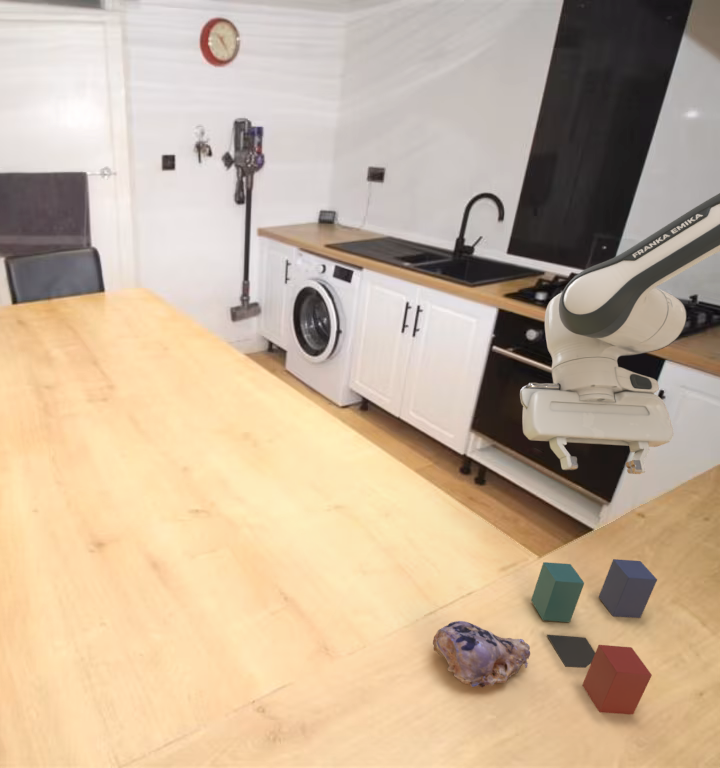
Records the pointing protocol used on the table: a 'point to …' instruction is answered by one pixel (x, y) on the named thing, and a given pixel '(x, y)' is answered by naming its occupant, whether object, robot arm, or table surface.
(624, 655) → the block line
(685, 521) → the table surface
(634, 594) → the blue block
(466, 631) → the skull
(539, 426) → the robot arm
